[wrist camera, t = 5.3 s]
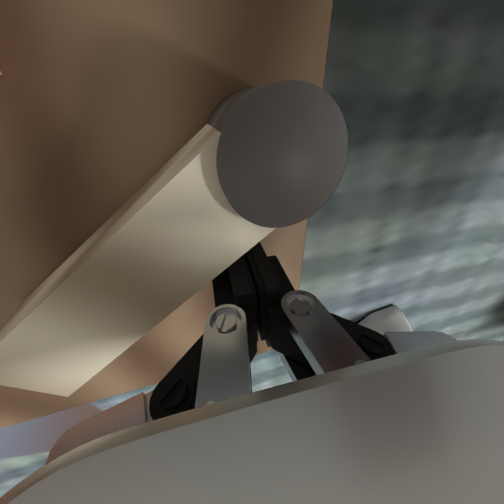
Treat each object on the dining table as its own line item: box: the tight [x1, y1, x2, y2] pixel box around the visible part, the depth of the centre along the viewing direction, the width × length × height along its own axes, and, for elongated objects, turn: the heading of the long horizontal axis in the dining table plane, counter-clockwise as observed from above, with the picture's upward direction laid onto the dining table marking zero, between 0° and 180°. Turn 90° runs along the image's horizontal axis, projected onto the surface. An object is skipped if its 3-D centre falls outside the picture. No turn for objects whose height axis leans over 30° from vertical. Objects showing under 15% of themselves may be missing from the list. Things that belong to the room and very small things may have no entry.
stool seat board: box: [0, 0, 333, 428], centre depth 11 cm, size 20×20×2 cm
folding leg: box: [0, 80, 348, 397], centre depth 8 cm, size 14×4×4 cm, turn 127°
